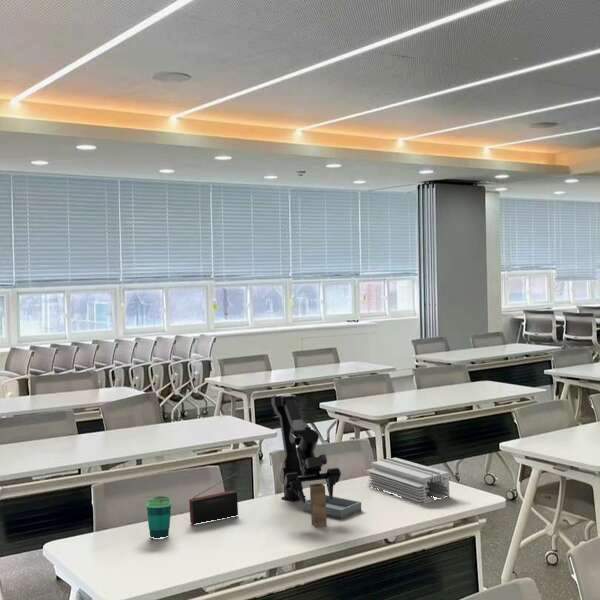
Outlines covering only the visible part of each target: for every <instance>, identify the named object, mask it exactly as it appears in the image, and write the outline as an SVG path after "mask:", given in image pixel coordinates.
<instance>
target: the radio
mask: <svg viewBox="0 0 600 600" xmlns="http://www.w3.org/2000/svg"><path fill="white" fill-rule="evenodd" d="M238 473H240V472H239V471H237V472H236V473H234V474H232V475H231V476H229V477H227V478H225V479H223V480H221V481H220V482H217V483H216V484H214V485H213V486H210V487H209V488H207V489H206V490H203V491H202V492H199V493H198V494H196V495H195V496H193V497H192V498H190V499H189V501H188V502H189V516H190V517H189V521H190V522H191V523H192V524H196V523H201V522H206V521H211V520H217V519H222V518H227V517H231V516H236V515H238V516H239V505H238V493H237V492H236V491H235V490H229V491H224V492H219V493H214V494H209V495H204V496H200V495H201V494H204V493H205V492H207V491H208V490H210V489H212V488H214V487H215V486H217V485H219V484H221V483H222V482H224V481H226V480H227V479H229V478H231V477H233V476H235V475H236V474H238ZM199 496H200V497H199ZM191 523H190V524H191ZM192 524H191V525H192Z"/></svg>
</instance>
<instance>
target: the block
mask: <svg viewBox="0 0 600 600" xmlns="http://www.w3.org/2000/svg"><path fill="white" fill-rule="evenodd" d="M325 495H326V486H325V485H324V484H323V483H321V482H320V483H319V482H318V483H314V484H313V483H312V484H309V496H310V497H309V498H310V499H311V512H310V515H311V525H312V526H313V527H314V528H320V527H327V526H328V524H327V523H328V520H327V516H326V496H325Z"/></svg>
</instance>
